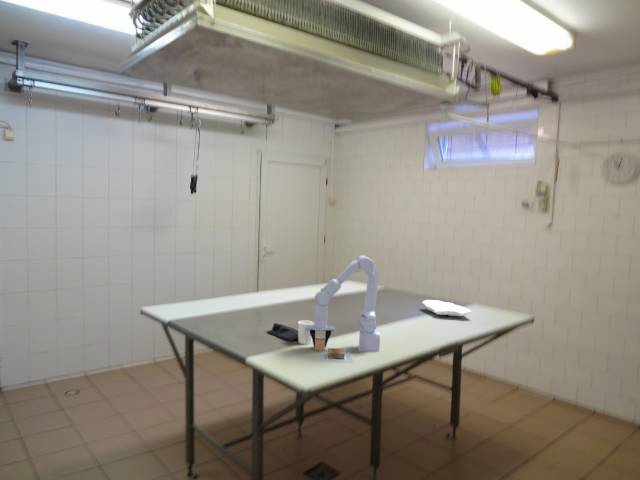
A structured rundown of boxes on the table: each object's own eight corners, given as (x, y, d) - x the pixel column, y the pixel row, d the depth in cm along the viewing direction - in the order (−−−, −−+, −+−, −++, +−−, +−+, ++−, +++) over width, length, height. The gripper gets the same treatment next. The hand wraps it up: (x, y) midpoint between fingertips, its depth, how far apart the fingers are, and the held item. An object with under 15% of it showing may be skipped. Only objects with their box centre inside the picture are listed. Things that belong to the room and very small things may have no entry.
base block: (343, 354, 208) (343, 348, 208) (344, 359, 201) (344, 353, 201) (327, 353, 208) (328, 348, 208) (328, 358, 201) (328, 353, 201)
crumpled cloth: (458, 322, 273) (460, 306, 273) (409, 309, 299) (412, 295, 299) (477, 322, 289) (480, 308, 289) (430, 310, 315) (432, 297, 315)
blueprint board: (350, 352, 211) (350, 351, 211) (353, 363, 197) (353, 362, 197) (319, 351, 211) (319, 350, 211) (320, 362, 197) (320, 361, 197)
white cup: (313, 340, 228) (314, 320, 227) (313, 345, 220) (314, 324, 219) (297, 340, 228) (298, 320, 227) (296, 345, 220) (297, 324, 219)
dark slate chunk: (286, 344, 222) (287, 334, 221) (264, 332, 240) (265, 323, 239) (313, 340, 230) (313, 330, 230) (290, 329, 248) (290, 320, 248)
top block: (324, 348, 217) (324, 337, 217) (324, 351, 212) (325, 340, 212) (314, 347, 217) (315, 337, 216) (314, 350, 212) (315, 339, 212)
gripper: (305, 318, 209) (303, 348, 210) (337, 320, 210) (335, 349, 211) (305, 315, 216) (304, 343, 217) (336, 316, 217) (335, 344, 218)
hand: (319, 346), depth 215 cm, fingers closed on top block, 4 cm apart
